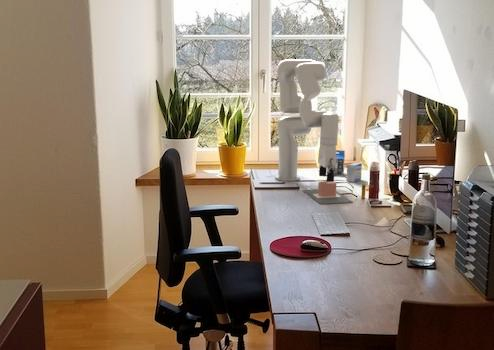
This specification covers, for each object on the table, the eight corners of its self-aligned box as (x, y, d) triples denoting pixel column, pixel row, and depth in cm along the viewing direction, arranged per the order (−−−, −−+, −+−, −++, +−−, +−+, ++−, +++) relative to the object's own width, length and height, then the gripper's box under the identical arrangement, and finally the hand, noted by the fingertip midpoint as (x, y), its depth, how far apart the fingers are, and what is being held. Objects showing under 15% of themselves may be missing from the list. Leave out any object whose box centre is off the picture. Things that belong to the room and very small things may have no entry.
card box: (332, 193, 261) (333, 181, 260) (335, 196, 258) (336, 183, 256) (318, 194, 260) (318, 181, 258) (321, 196, 256) (321, 183, 255)
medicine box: (354, 182, 286) (355, 165, 285) (346, 181, 289) (347, 164, 287) (361, 179, 293) (362, 163, 291) (353, 178, 295) (354, 162, 293)
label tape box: (326, 173, 307) (327, 150, 304) (327, 171, 310) (328, 149, 308) (342, 174, 304) (344, 151, 301) (343, 173, 308) (345, 150, 305)
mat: (302, 191, 269) (302, 189, 268) (332, 189, 272) (332, 188, 272) (319, 204, 246) (319, 203, 246) (352, 202, 249) (352, 201, 249)
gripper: (314, 137, 261) (312, 174, 265) (327, 145, 244) (325, 184, 249) (329, 137, 262) (327, 173, 267) (343, 145, 246) (341, 183, 250)
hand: (326, 178), depth 258 cm, fingers open, 9 cm apart
